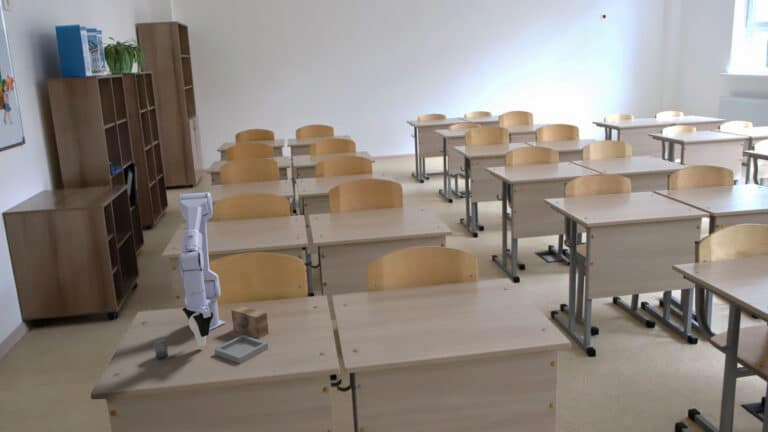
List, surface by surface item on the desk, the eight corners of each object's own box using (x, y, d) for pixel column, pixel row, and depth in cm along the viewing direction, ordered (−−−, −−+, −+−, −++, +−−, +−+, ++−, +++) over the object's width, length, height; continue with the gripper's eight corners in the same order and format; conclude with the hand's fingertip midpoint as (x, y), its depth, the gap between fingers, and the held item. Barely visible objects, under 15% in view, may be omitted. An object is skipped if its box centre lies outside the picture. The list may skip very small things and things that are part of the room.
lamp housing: (232, 330, 203) (229, 310, 201) (243, 324, 207) (241, 305, 205) (257, 339, 196) (255, 318, 195) (269, 333, 200) (267, 312, 198)
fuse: (153, 358, 187) (151, 342, 186) (163, 353, 190) (161, 337, 189) (160, 361, 185) (158, 345, 184) (171, 356, 188) (168, 340, 187)
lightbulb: (206, 351, 188) (202, 316, 185) (187, 350, 189) (183, 315, 187) (215, 343, 194) (212, 309, 191) (197, 342, 195) (193, 308, 192)
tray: (215, 354, 188) (214, 348, 187) (243, 340, 196) (242, 334, 196) (240, 363, 181) (239, 358, 181) (268, 348, 190) (267, 343, 189)
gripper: (218, 293, 184) (223, 335, 187) (197, 280, 195) (203, 320, 198) (195, 300, 180) (200, 343, 183) (175, 286, 190) (181, 327, 194)
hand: (200, 332), depth 190 cm, fingers closed on lightbulb, 6 cm apart
